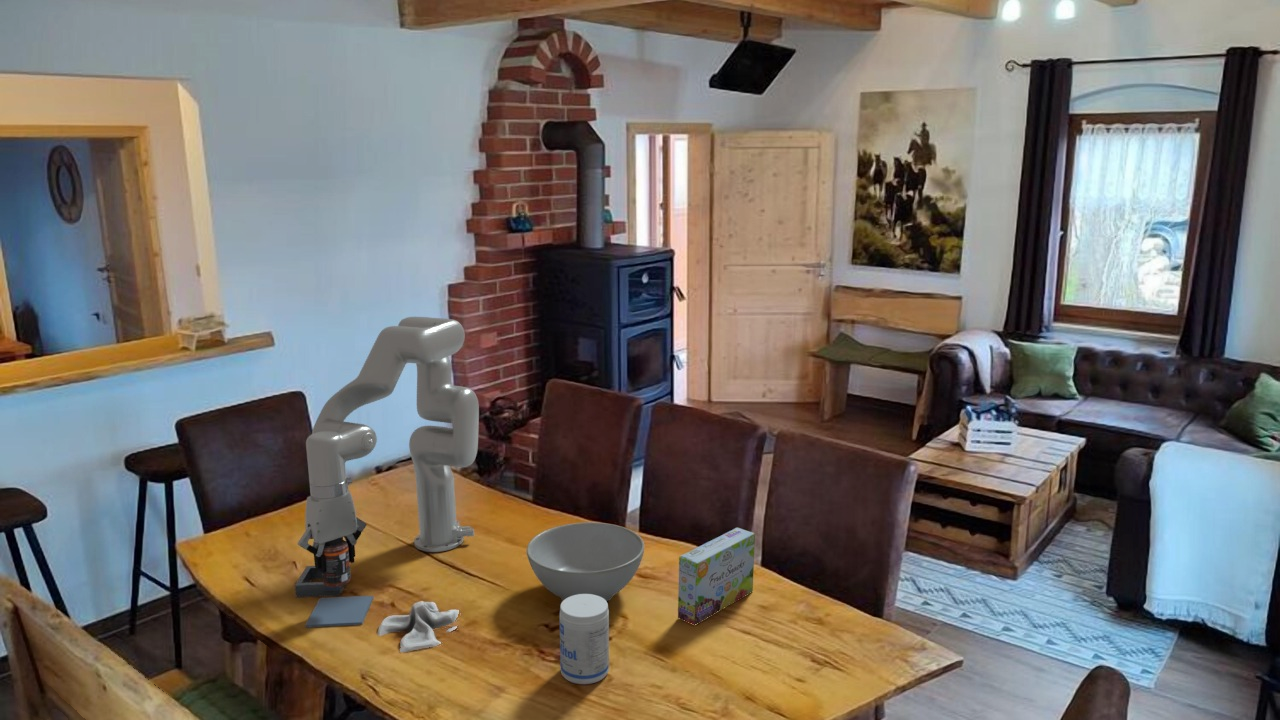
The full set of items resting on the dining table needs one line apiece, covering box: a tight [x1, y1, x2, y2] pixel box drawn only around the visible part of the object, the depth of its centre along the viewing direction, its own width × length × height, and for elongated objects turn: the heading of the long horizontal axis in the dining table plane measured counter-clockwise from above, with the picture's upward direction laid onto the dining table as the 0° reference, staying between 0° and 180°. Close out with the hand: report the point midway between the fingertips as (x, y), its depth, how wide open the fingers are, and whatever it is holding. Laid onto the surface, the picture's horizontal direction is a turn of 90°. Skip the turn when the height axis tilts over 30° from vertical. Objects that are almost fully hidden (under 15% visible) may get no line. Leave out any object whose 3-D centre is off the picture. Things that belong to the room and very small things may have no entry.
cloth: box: [377, 600, 459, 653], centre depth 197 cm, size 22×19×6 cm
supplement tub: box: [559, 594, 610, 685], centre depth 177 cm, size 10×10×15 cm
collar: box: [294, 565, 347, 599], centre depth 214 cm, size 10×10×3 cm
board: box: [304, 595, 374, 628], centre depth 203 cm, size 12×12×1 cm
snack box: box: [677, 527, 756, 626], centre depth 202 cm, size 21×6×15 cm, turn 137°
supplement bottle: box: [322, 537, 352, 587], centre depth 200 cm, size 6×6×11 cm
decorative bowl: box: [526, 521, 645, 602], centre depth 208 cm, size 27×27×12 cm
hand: (335, 565), depth 200 cm, fingers closed on supplement bottle, 6 cm apart
